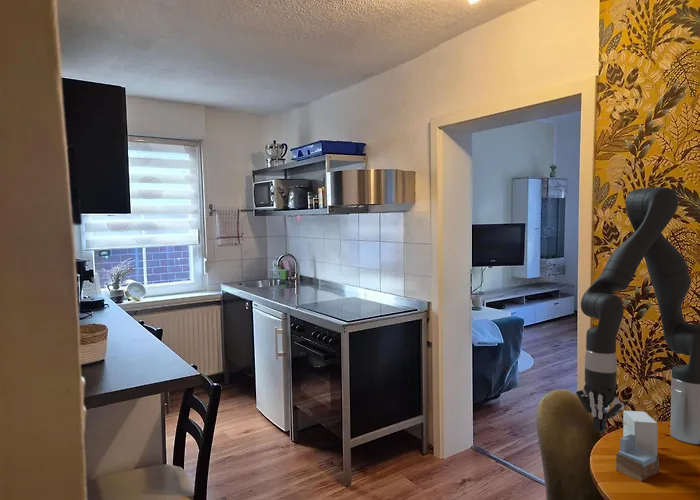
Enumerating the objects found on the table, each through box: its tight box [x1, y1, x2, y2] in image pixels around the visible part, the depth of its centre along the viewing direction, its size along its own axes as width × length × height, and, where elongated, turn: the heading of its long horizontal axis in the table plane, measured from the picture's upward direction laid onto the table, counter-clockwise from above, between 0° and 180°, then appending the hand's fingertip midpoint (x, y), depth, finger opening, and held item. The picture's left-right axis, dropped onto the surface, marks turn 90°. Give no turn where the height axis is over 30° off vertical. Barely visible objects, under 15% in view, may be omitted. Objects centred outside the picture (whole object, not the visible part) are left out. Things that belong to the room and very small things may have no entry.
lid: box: [618, 434, 658, 467], centre depth 117 cm, size 6×6×5 cm
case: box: [615, 448, 660, 482], centre depth 117 cm, size 8×6×4 cm
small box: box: [622, 410, 659, 455], centre depth 125 cm, size 8×6×10 cm
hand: (599, 430), depth 125 cm, fingers closed
